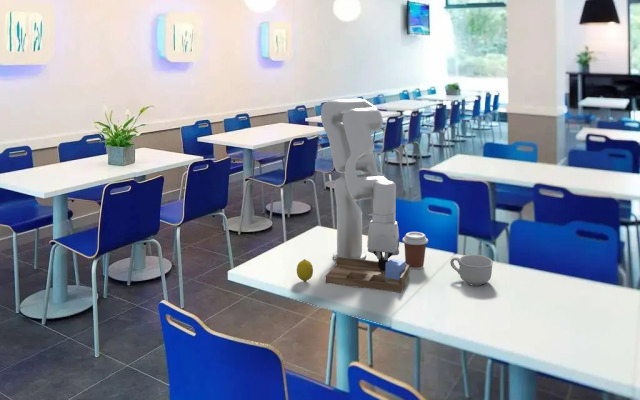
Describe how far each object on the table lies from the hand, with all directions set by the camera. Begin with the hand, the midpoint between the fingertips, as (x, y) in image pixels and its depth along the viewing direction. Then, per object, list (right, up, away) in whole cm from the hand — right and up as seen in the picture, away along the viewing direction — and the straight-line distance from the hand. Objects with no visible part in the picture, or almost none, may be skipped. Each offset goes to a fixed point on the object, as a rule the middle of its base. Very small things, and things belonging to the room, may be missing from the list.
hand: (383, 269), depth 192 cm
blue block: (+4, -2, -3) cm, 5 cm away
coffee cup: (+13, -1, +13) cm, 19 cm away
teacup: (+29, -4, -1) cm, 30 cm away
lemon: (-27, -4, 0) cm, 27 cm away
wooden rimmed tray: (-5, -4, 0) cm, 6 cm away
